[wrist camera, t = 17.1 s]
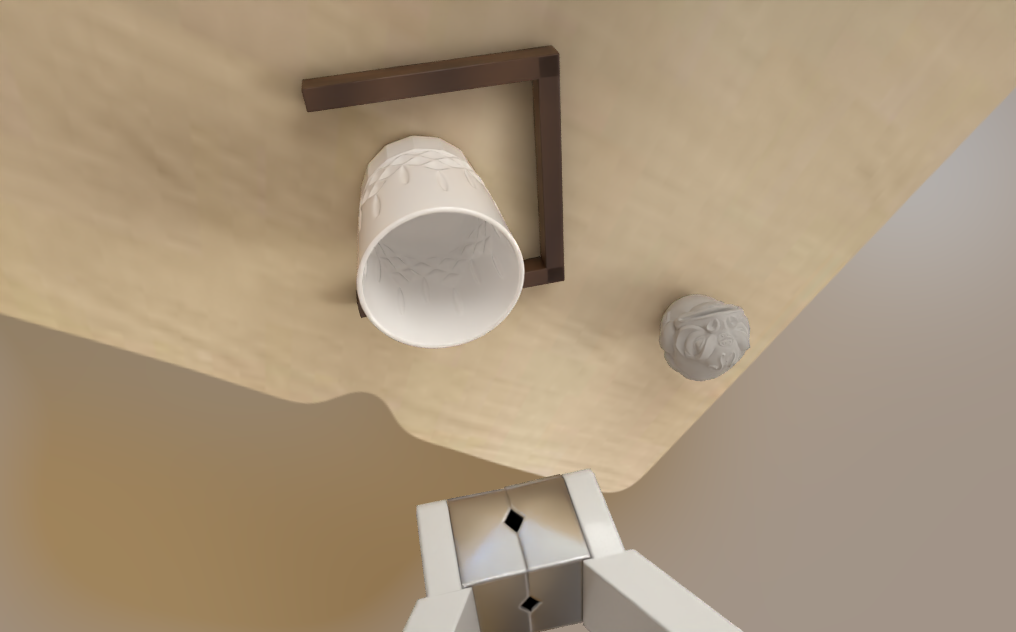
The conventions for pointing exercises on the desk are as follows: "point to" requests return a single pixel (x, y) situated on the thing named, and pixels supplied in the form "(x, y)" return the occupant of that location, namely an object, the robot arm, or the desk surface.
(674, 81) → the desk surface
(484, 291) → the white cup
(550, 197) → the dock
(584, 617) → the robot arm
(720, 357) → the sculpted head
